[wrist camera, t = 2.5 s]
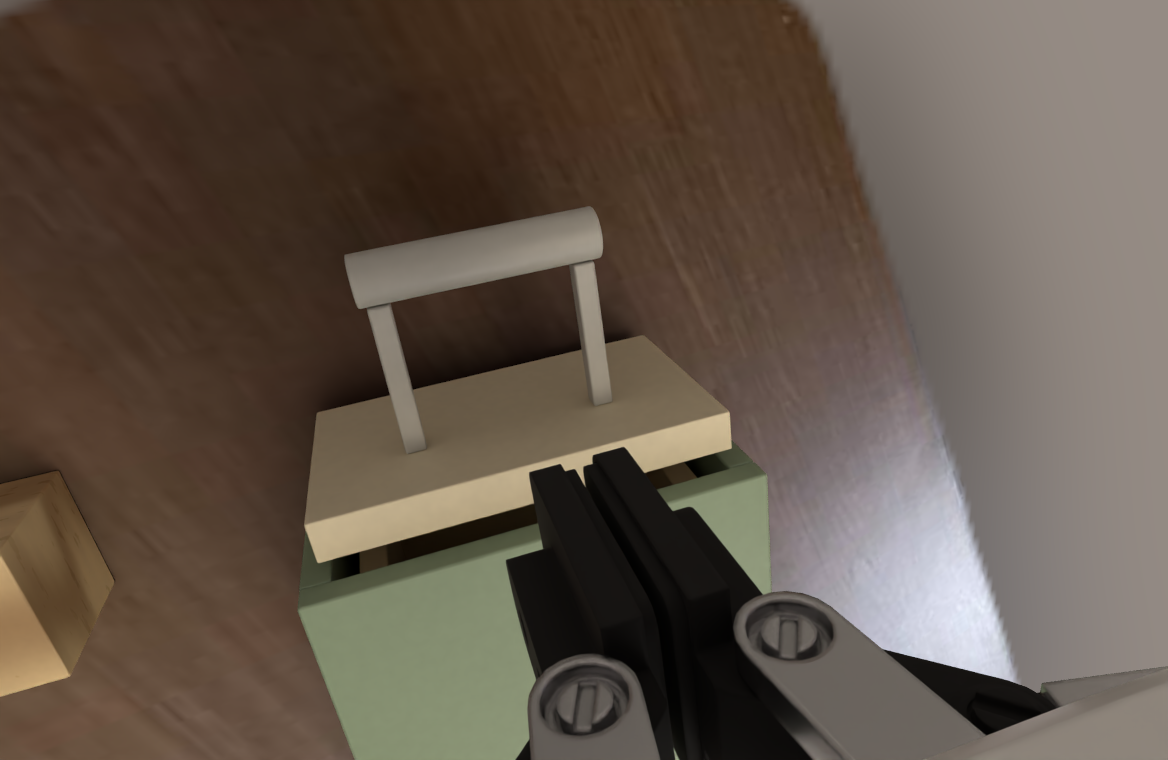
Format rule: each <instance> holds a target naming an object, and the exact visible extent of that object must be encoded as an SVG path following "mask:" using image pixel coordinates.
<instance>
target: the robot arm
mask: <svg viewBox="0 0 1168 760" xmlns="http://www.w3.org/2000/svg"><path fill="white" fill-rule="evenodd" d="M592 463H593V464H590V465H586V466H584V467H583V474H584V480H585V485H584V483H583V482H582V480H581V478H580V476H579V475H578V473H577V471H576V470H575V469H572V470H568V471H565V470H564V468H563V467H562V465H561V464H558V465H554V466H550V467H546V468H543V469H539V470H535V471H532V472H529V479H530V485H531V490H532V495H533V500H534V505H535V510H536V515H537V520H538V525H539V530H540V535H541V541H542V546H543V549H541V550H538V551H534V552H531V553H527V554H524V555H521V556H517V557H514V558H510V559H507V560H506V566H507V571H508V576H509V580H510V585H511V589H512V594H513V598H514V602H515V606H516V610H517V614H518V618H519V622H520V626H521V630H522V634H523V637H524V641H525V644H526V648H527V651H528V655H529V658H530V661H531V665H532V668H533V671H534V674H535V678H536V681H535V683H534V685H533V687H532V689H531V691H530V693H529V697H528V706H527V714H528V727H529V740H528V742H527V743H526V745H525V746H524V748H523V749H522V751H521V752H520V754H519V755H518V757H517V758H516V760H675V754H674V749H675V752H676V754H677V756H678V758H679V760H1168V666H1167V667H1159V668H1152V669H1144V670H1137V671H1129V672H1122V673H1114V674H1106V675H1100V676H1092V677H1084V678H1076V679H1069V680H1061V681H1054V682H1046V683H1042V685H1041V691H1040V693H1036V692H1034V691H1033V690H1031V689H1029V688H1027V687H1025V686H1022V685H1019V684H1016V683H1013V682H1010V681H1008V680H1004V679H1000V678H996V677H992V676H988V675H984V674H980V673H976V672H972V671H968V670H964V669H960V668H956V667H952V666H948V665H944V664H940V663H936V662H932V661H928V660H924V659H920V658H915V657H911V656H907V655H903V654H899V653H895V652H891V651H887V650H883V649H881V648H880V647H879V646H878V645H877V644H875V643H874V642H873V641H872V640H871V639H869V638H868V637H867V636H866V635H864V634H863V633H862V632H861V631H860V630H858V629H857V628H856V627H855V626H854V625H852V624H851V623H850V622H849V621H848V620H846V619H845V618H844V617H843V616H842V615H840V614H839V613H838V612H837V611H836V610H834V609H833V608H832V607H831V606H829V605H827V604H826V603H824V602H823V601H821V600H819V599H818V598H815V597H812V596H809V595H806V594H803V593H796V592H788V591H783V592H770V593H767V594H764V595H763V594H762V592H761V591H760V590H759V589H758V587H757V586H756V585H755V584H754V582H753V581H752V580H751V579H750V577H749V576H748V575H747V574H746V572H745V571H744V570H743V569H742V567H741V566H740V565H739V564H738V562H737V561H736V560H735V559H734V557H733V556H732V555H731V554H730V552H729V551H728V550H727V549H726V547H725V546H724V545H723V544H722V542H721V541H720V540H719V538H718V537H717V536H716V535H715V533H714V532H713V531H712V530H711V528H710V527H709V526H708V525H707V523H706V522H705V521H704V520H703V518H702V517H701V516H700V515H699V513H698V512H697V511H696V510H695V509H694V508H693V507H685V508H682V509H678V510H675V511H672V510H671V508H670V507H669V506H668V504H667V503H666V501H665V500H664V499H663V497H662V496H661V495H660V493H659V492H658V491H657V489H656V488H655V487H654V485H653V484H652V483H651V481H650V480H649V479H648V477H647V476H646V475H645V473H644V472H643V470H642V469H641V468H640V466H639V465H638V464H637V462H636V461H635V460H634V458H633V457H632V456H631V454H630V453H629V452H628V450H627V449H626V448H625V447H621V448H617V449H613V450H610V451H606V452H602V453H599V454H595V455H593V457H592ZM585 486H586V487H585Z"/></svg>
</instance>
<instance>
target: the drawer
mask: <svg viewBox="0 0 1168 760" xmlns="http://www.w3.org/2000/svg"><path fill="white" fill-rule="evenodd" d="M602 252H603V239H602V232H601V227H600V223H599V220H598V217H597V215H596V213H595V211H594V209H593V208H592V207H590V206H588V207H583V208H578V209H573V210H568V211H563V212H558V213H553V214H548V215H543V216H538V217H532V218H527V219H522V220H517V221H512V222H507V223H502V224H497V225H492V226H487V227H482V228H477V229H472V230H467V231H462V232H457V233H452V234H446V235H441V236H436V237H431V238H426V239H421V240H416V241H411V242H406V243H401V244H396V245H391V246H386V247H381V248H376V249H371V250H366V251H360V252H355V253H350V254H346V255H345V256H344V260H345V266H346V270H347V275H348V279H349V283H350V287H351V290H352V294H353V297H354V300H355V303H356V305H357V307H358V309H363V308H367V313H368V317H369V320H370V324H371V327H372V331H373V335H374V338H375V342H376V346H377V349H378V353H379V357H380V360H381V364H382V368H383V371H384V375H385V379H386V382H387V386H388V390H389V393H390V395H389V396H385V397H380V398H376V399H372V400H368V401H364V402H359V403H355V404H351V405H347V406H343V407H338V408H334V409H330V410H326V411H322V412H318V413H317V415H316V424H315V433H314V442H313V451H312V460H311V469H310V478H309V487H308V496H307V505H306V513H305V522H304V527H305V530H306V532H307V535H308V538H309V541H310V544H311V546H312V549H313V552H314V555H315V558H316V560H317V562H318V563H322V562H325V561H329V560H332V559H336V558H340V557H343V556H347V555H350V554H354V553H358V552H360V573H364V572H368V571H371V570H375V569H378V568H382V567H385V566H389V565H392V564H396V563H399V562H403V561H406V560H410V559H413V558H417V557H420V556H424V555H427V554H431V553H435V552H438V551H442V550H445V549H449V548H452V547H456V546H459V545H463V544H466V543H470V542H473V541H477V540H480V539H484V538H487V537H491V536H494V535H498V534H502V533H505V532H509V531H512V530H516V529H519V528H523V527H526V526H530V525H533V524H537V523H538V520H537V515H536V510H535V505H534V500H533V495H532V490H531V485H530V479H529V472H532V471H535V470H539V469H543V468H546V467H550V466H554V465H558V464H561V465H562V467H563V468H564V470H565V471H568V470H572V469H575V470H576V471H577V473H578V475H579V476H580V478H581V480H582V482H583V483H584V485H585V480H584V474H583V467H584V466H586V465H590V464H593V463H592V457H593V455H595V454H599V453H602V452H606V451H610V450H613V449H617V448H621V447H625V448H626V449H627V450H628V452H629V453H630V454H631V456H632V457H633V458H634V460H635V461H636V462H637V464H638V465H639V466H640V468H641V469H642V470H643V472H644V473H645V475H646V476H647V477H648V479H649V480H650V481H651V483H652V484H653V485H654V487H655V488H656V489H660V488H664V487H667V486H671V485H674V484H678V483H681V482H685V481H688V480H692V479H695V478H697V477H696V476H695V475H694V473H693V472H692V471H691V470H690V469H689V467H688V466H687V465H686V464H685V463H684V462H685V461H689V460H692V459H696V458H700V457H703V456H707V455H710V454H714V453H718V452H721V451H725V450H728V449H731V448H732V444H731V427H730V412H729V411H728V410H727V409H726V408H725V407H724V406H723V405H721V404H720V403H719V402H718V401H717V400H716V399H715V398H714V397H712V396H711V395H710V394H709V393H708V392H707V391H706V390H705V389H704V388H702V387H701V386H700V385H699V384H698V383H697V382H696V381H695V380H693V379H692V378H691V377H690V376H689V375H688V374H687V373H686V372H685V371H683V370H682V369H681V368H680V367H679V366H678V365H677V364H676V363H674V362H673V361H672V360H671V359H670V358H669V357H668V356H667V355H666V354H664V353H663V352H662V351H661V350H660V349H659V348H658V347H657V346H656V345H654V344H653V343H652V342H651V341H650V340H649V339H648V338H647V337H645V336H644V335H641V336H637V337H633V338H628V339H624V340H620V341H616V342H612V343H607V344H605V339H604V332H603V325H602V317H601V310H600V302H599V295H598V287H597V280H596V272H595V265H594V262H593V261H592V260H593V259H597V258H600V257H601V256H602ZM564 265H569V268H570V275H571V282H572V288H573V295H574V302H575V309H576V315H577V322H578V329H579V335H580V342H581V349H582V350H578V351H574V352H570V353H565V354H561V355H557V356H553V357H549V358H544V359H540V360H536V361H532V362H528V363H523V364H519V365H515V366H511V367H507V368H502V369H498V370H494V371H490V372H486V373H481V374H477V375H473V376H469V377H465V378H460V379H456V380H452V381H448V382H443V383H439V384H435V385H431V386H427V387H422V388H418V389H414V390H413V389H412V385H411V381H410V377H409V373H408V369H407V365H406V362H405V358H404V354H403V350H402V346H401V342H400V338H399V334H398V331H397V327H396V323H395V319H394V315H393V311H392V307H391V304H390V303H391V302H395V301H400V300H405V299H409V298H414V297H419V296H424V295H428V294H433V293H438V292H442V291H447V290H452V289H456V288H461V287H466V286H471V285H475V284H480V283H485V282H489V281H494V280H499V279H503V278H508V277H513V276H517V275H522V274H527V273H532V272H536V271H541V270H546V269H550V268H555V267H560V266H564ZM585 487H586V486H585Z"/></svg>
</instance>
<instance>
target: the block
mask: <svg viewBox="0 0 1168 760" xmlns="http://www.w3.org/2000/svg"><path fill="white" fill-rule="evenodd" d="M114 582H115V581H114V579H113V577H112V575H111V573H110V571H109V569H108V567H107V565H106V563H105V561H104V559H103V557H102V555H101V553H100V551H99V550H98V548H97V546H96V544H95V542H94V540H93V538H92V536H91V534H90V532H89V530H88V528H87V526H86V524H85V522H84V520H83V518H82V516H81V514H80V512H79V510H78V508H77V506H76V504H75V502H74V500H73V498H72V496H71V494H70V492H69V490H68V488H67V486H66V484H65V482H64V480H63V478H62V476H61V474H60V472H59V471H54V472H50V473H45V474H41V475H37V476H33V477H28V478H24V479H20V480H16V481H12V482H7V483H3V484H0V697H1V696H4V695H8V694H11V693H15V692H18V691H22V690H25V689H29V688H32V687H36V686H39V685H42V684H46V683H49V682H53V681H56V680H60V679H63V678H67V677H69V676H70V675H71V673H72V671H73V669H74V667H75V665H76V663H77V661H78V658H79V656H80V654H81V652H82V650H83V648H84V646H85V644H86V642H87V639H88V637H89V635H90V633H91V631H92V629H93V627H94V625H95V623H96V620H97V618H98V616H99V614H100V612H101V610H102V608H103V606H104V604H105V601H106V599H107V597H108V595H109V593H110V591H111V589H112V587H113V585H114Z"/></svg>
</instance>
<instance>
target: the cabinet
mask: <svg viewBox="0 0 1168 760" xmlns="http://www.w3.org/2000/svg"><path fill="white" fill-rule="evenodd" d="M731 444H732V448H731V449H728V450H725V451H721V452H718V453H714V454H710V455H707V456H703V457H700V458H696V459H692V460H689V461H685V462H684V463H685V464H686V465H687V466H688V467H689V469H690V470H691V471H692V472H693V473H694V475H695V476H696V477H697V478H695V479H692V480H688V481H685V482H681V483H678V484H674V485H671V486H667V487H664V488H660V489H657V491H658V492H659V493H660V495H661V496H662V497H663V499H664V500H665V501H666V503H667V504H668V506H669V507H670V508H671V510H672V511H675V510H678V509H682V508H685V507H693V508H694V509H695V510H696V511H697V512H698V513H699V515H700V516H701V517H702V518H703V520H704V521H705V522H706V523H707V525H708V526H709V527H710V528H711V530H712V531H713V532H714V533H715V535H716V536H717V537H718V538H719V540H720V541H721V542H722V544H723V545H724V546H725V547H726V549H727V550H728V551H729V552H730V554H731V555H732V556H733V557H734V559H735V560H736V561H737V562H738V564H739V565H740V566H741V567H742V569H743V570H744V571H745V572H746V574H747V575H748V576H749V577H750V579H751V580H752V581H753V582H754V584H755V585H756V586H757V587H758V589H759V590H760V591H761V592H762V594H763V595H764V594H767V593H770V592H772V589H771V563H770V538H769V512H768V486H767V475H766V473H765V472H764V471H763V470H762V469H761V468H760V467H759V466H758V465H757V464H756V463H753V461H752V459H750V458H749V457H748V456H747V455H746V454H745V453H744V452H743V451H742V450H741V449H740V448H739V447H738V446H737V445H736V444H735V443H734V442H733V441H732V440H731ZM541 549H543V546H542V541H541V535H540V530H539V525H538V523H537V524H533V525H530V526H526V527H523V528H519V529H516V530H512V531H509V532H505V533H502V534H498V535H494V536H491V537H487V538H484V539H480V540H477V541H473V542H470V543H466V544H463V545H459V546H456V547H452V548H449V549H445V550H442V551H438V552H435V553H431V554H427V555H424V556H420V557H417V558H413V559H410V560H406V561H403V562H399V563H396V564H392V565H389V566H385V567H382V568H378V569H375V570H371V571H368V572H364V573H360V552H358V553H354V554H350V555H347V556H343V557H340V558H336V559H332V560H329V561H325V562H322V563H318V562H317V560H316V558H315V555H314V552H313V549H312V546H311V544H310V541H309V538H308V535H307V532H306V531H305V540H304V550H303V559H302V568H301V578H300V587H299V591H300V592H299V601H298V610H297V611H298V613H299V616H300V619H301V621H302V624H303V626H304V629H305V632H306V634H307V637H308V639H309V642H310V645H311V647H312V650H313V652H314V655H315V658H316V660H317V663H318V665H319V668H320V671H321V673H322V676H323V678H324V681H325V684H326V686H327V689H328V691H329V694H330V697H331V699H332V702H333V704H334V707H335V710H336V712H337V715H338V718H339V720H340V723H341V725H342V728H343V731H344V733H345V736H346V738H347V741H348V744H349V746H350V749H351V751H352V754H353V757H354V759H355V760H516V758H517V757H518V755H519V754H520V752H521V751H522V749H523V748H524V746H525V745H526V743H527V742H528V740H529V727H528V714H527V706H528V697H529V693H530V691H531V689H532V687H533V685H534V683H535V681H536V678H535V674H534V671H533V668H532V665H531V661H530V658H529V655H528V651H527V648H526V644H525V641H524V637H523V634H522V630H521V626H520V622H519V618H518V614H517V610H516V606H515V602H514V598H513V594H512V589H511V585H510V580H509V576H508V571H507V566H506V560H507V559H510V558H514V557H517V556H521V555H524V554H527V553H531V552H534V551H538V550H541ZM674 754H675V760H679V758H678V756H677V754H676V752H675V749H674Z"/></svg>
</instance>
